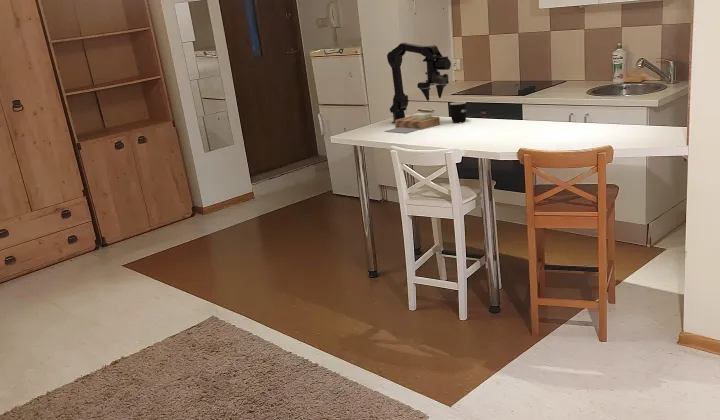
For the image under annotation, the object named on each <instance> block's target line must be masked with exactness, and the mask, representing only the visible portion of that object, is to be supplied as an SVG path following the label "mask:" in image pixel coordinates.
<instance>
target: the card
mask: <svg viewBox="0 0 720 420" xmlns="http://www.w3.org/2000/svg"><path fill="white" fill-rule="evenodd" d="M432 114H433V113H431V112H430V113H427V112H418V113H414V114H411V116H412V118H414V119H427V118H431V117H433V115H432Z"/></svg>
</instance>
